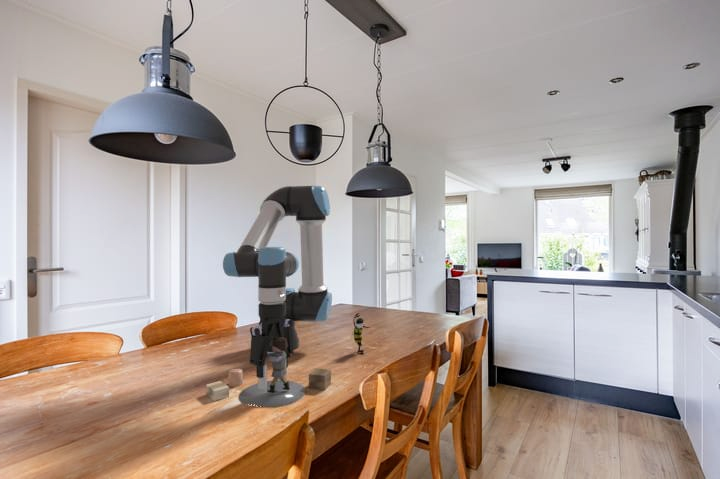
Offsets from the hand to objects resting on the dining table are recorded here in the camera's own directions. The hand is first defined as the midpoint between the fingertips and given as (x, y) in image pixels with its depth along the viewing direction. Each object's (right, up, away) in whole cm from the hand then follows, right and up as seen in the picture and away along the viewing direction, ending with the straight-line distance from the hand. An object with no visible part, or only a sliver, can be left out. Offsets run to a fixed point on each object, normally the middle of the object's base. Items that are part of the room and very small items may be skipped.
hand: (272, 384), depth 104 cm
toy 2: (+25, -4, +40) cm, 47 cm away
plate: (0, -3, 0) cm, 3 cm away
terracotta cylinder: (-13, -4, +6) cm, 15 cm away
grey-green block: (-15, -4, -2) cm, 15 cm away
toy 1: (-1, -2, -1) cm, 2 cm away
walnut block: (+13, -4, +6) cm, 14 cm away
